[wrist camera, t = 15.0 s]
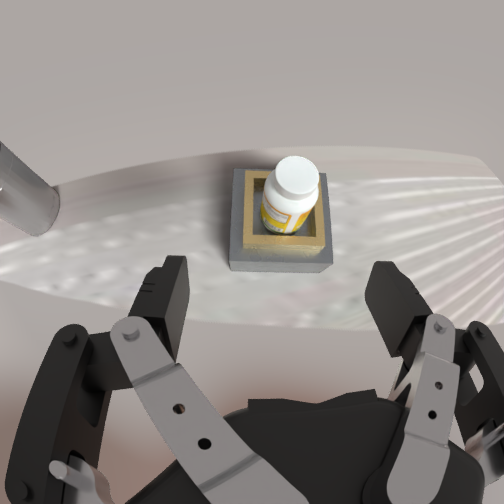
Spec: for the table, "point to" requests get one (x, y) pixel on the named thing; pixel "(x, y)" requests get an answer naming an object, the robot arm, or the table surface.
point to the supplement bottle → (289, 195)
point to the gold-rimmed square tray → (268, 243)
